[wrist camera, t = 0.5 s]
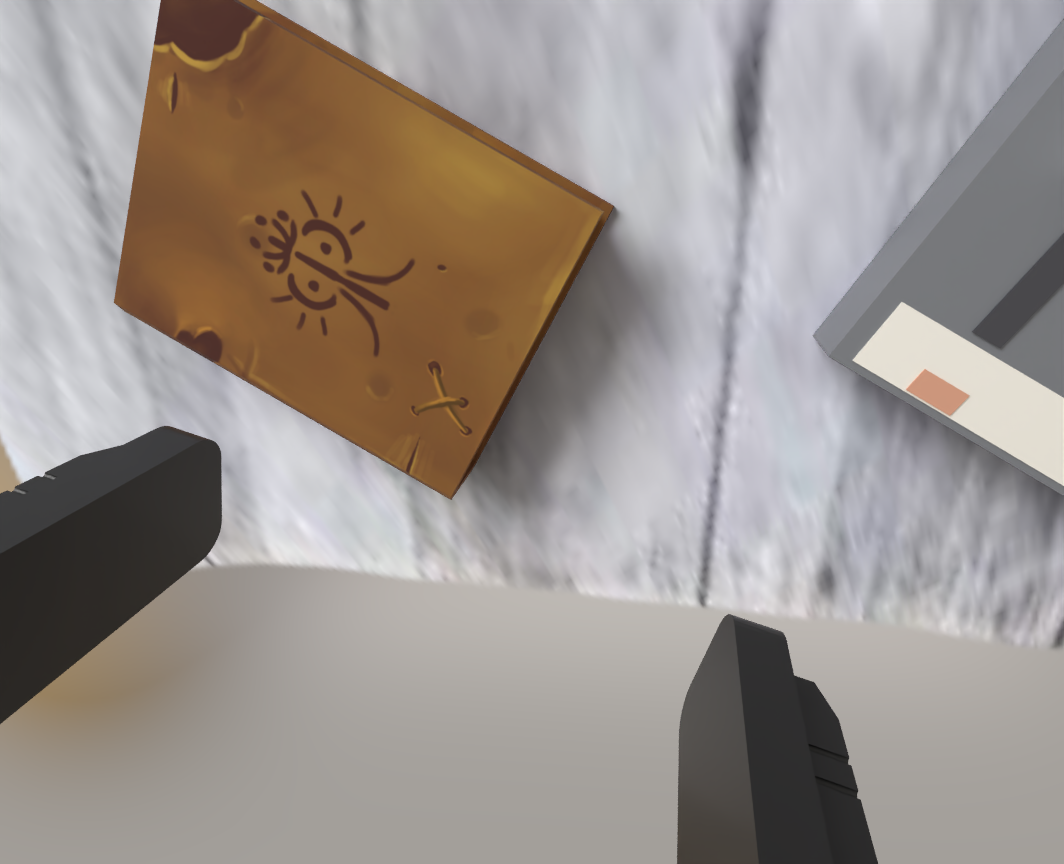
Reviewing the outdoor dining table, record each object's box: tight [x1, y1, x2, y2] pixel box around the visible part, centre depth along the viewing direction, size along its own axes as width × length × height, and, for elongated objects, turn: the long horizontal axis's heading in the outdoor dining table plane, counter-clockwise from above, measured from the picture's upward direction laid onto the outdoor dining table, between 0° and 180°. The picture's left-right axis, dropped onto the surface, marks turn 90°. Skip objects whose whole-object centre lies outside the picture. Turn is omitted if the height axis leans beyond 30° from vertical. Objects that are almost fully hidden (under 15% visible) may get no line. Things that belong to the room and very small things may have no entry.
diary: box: [114, 0, 614, 499], centre depth 34 cm, size 23×19×6 cm
